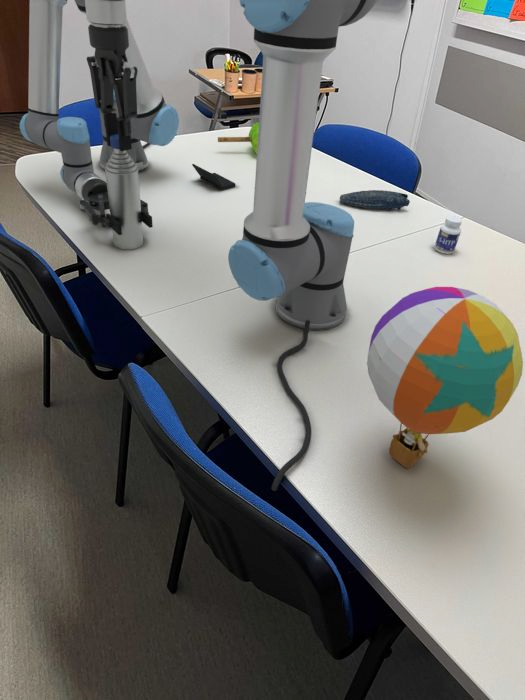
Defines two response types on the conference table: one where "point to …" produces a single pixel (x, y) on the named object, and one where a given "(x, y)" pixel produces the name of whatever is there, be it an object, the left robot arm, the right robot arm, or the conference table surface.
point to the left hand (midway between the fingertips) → (135, 225)
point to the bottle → (124, 199)
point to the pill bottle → (448, 235)
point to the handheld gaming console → (214, 178)
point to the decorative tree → (252, 137)
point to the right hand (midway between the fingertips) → (119, 146)
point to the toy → (442, 365)
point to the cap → (114, 141)
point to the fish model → (376, 199)
